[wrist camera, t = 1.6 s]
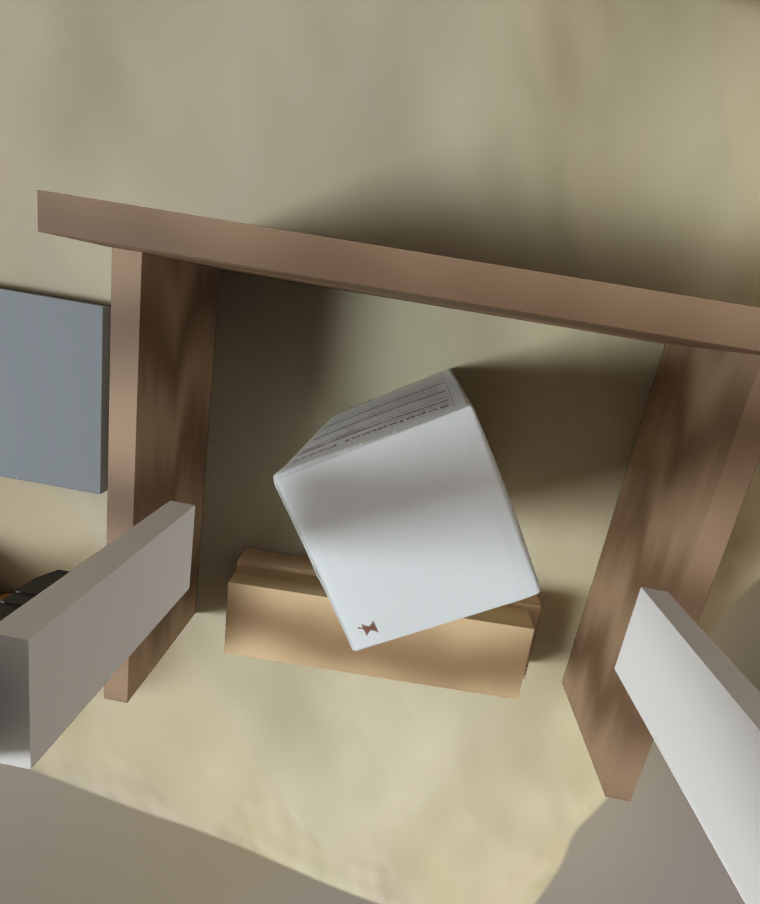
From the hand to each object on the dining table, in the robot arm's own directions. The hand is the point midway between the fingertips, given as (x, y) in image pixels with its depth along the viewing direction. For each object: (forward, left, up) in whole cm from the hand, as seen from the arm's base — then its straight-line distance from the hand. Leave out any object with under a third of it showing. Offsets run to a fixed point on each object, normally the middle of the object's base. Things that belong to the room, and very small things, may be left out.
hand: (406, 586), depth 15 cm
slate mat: (0, -24, -15) cm, 28 cm away
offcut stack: (+10, 0, -15) cm, 18 cm away
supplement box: (0, 0, -15) cm, 15 cm away
